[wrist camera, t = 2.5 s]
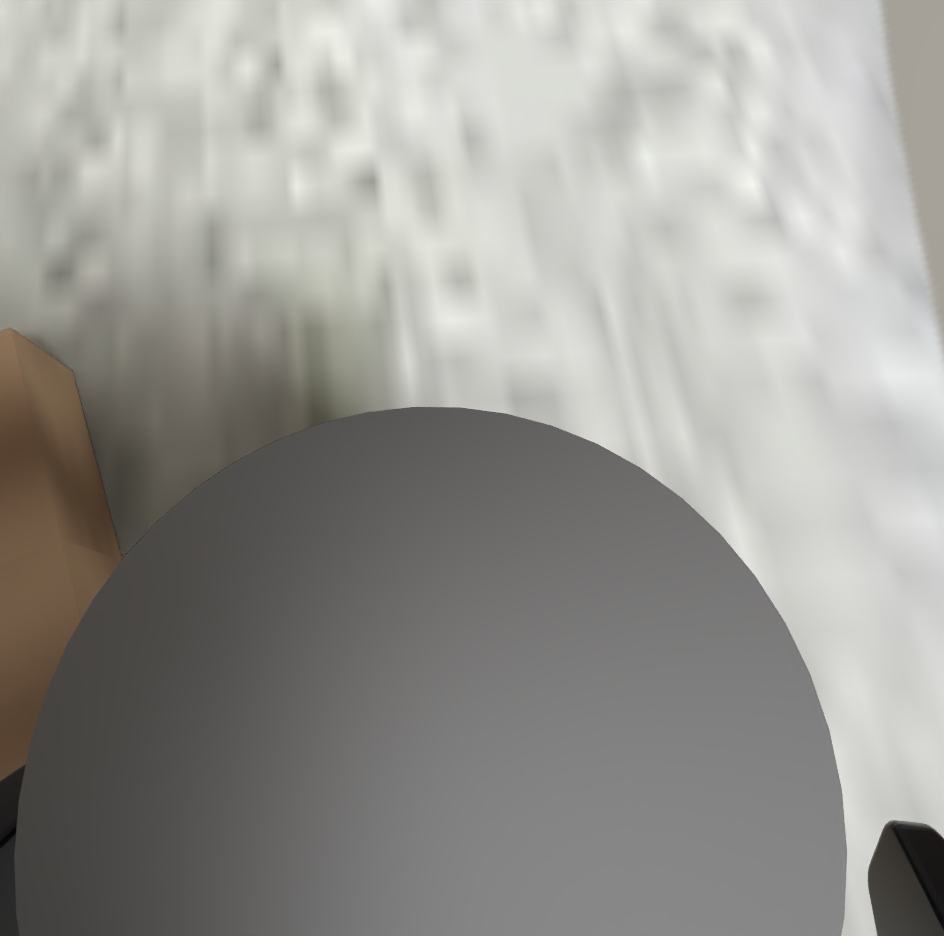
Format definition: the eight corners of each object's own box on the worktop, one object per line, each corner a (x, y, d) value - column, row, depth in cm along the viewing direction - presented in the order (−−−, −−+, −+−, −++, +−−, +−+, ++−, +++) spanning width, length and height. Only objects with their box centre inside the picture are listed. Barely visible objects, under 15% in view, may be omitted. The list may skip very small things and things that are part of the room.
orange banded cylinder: (607, 892, 16) (802, 1531, 4) (366, 823, 17) (-146, 1150, 4) (652, 640, 17) (907, 477, 5) (428, 587, 18) (168, 334, 6)
